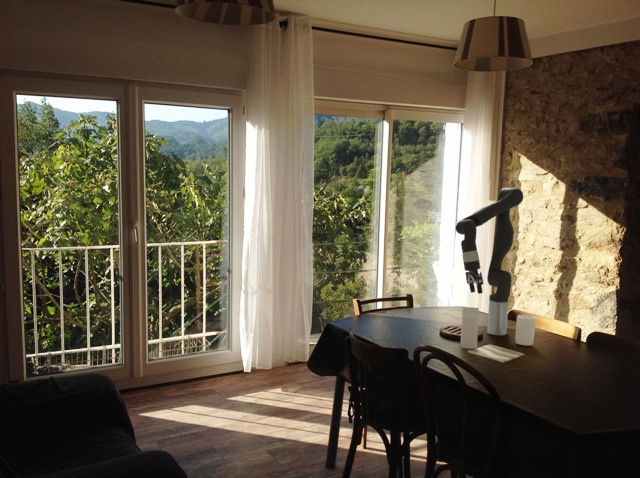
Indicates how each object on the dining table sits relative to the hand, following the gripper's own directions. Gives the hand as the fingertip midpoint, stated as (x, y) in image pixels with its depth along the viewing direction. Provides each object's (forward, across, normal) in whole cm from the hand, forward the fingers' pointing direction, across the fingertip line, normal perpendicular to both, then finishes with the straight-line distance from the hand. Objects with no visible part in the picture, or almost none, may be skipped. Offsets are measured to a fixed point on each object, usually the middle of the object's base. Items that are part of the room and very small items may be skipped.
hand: (476, 292), depth 275 cm
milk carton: (+24, -7, +11) cm, 27 cm away
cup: (+28, -7, -16) cm, 33 cm away
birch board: (+26, -18, +3) cm, 32 cm away
